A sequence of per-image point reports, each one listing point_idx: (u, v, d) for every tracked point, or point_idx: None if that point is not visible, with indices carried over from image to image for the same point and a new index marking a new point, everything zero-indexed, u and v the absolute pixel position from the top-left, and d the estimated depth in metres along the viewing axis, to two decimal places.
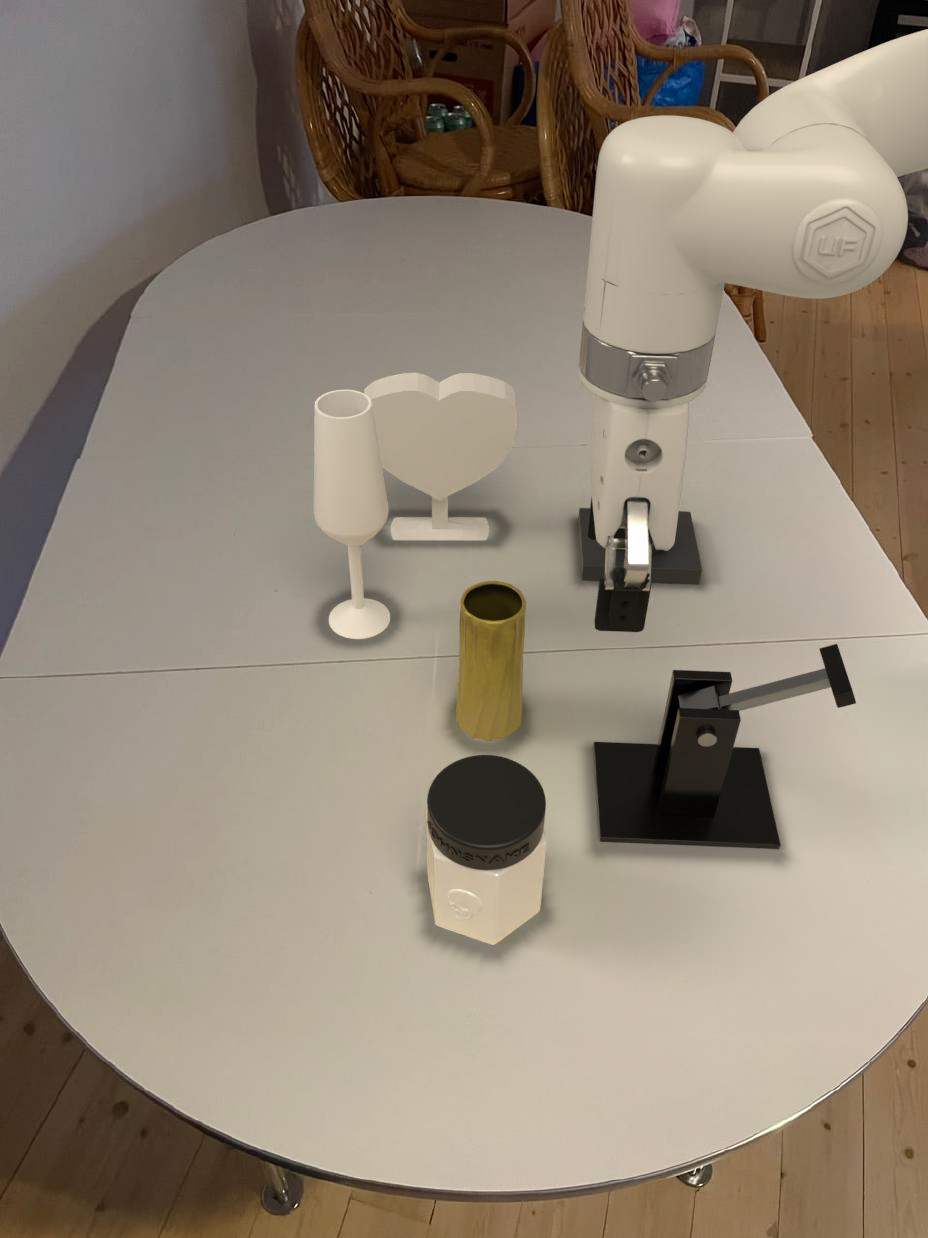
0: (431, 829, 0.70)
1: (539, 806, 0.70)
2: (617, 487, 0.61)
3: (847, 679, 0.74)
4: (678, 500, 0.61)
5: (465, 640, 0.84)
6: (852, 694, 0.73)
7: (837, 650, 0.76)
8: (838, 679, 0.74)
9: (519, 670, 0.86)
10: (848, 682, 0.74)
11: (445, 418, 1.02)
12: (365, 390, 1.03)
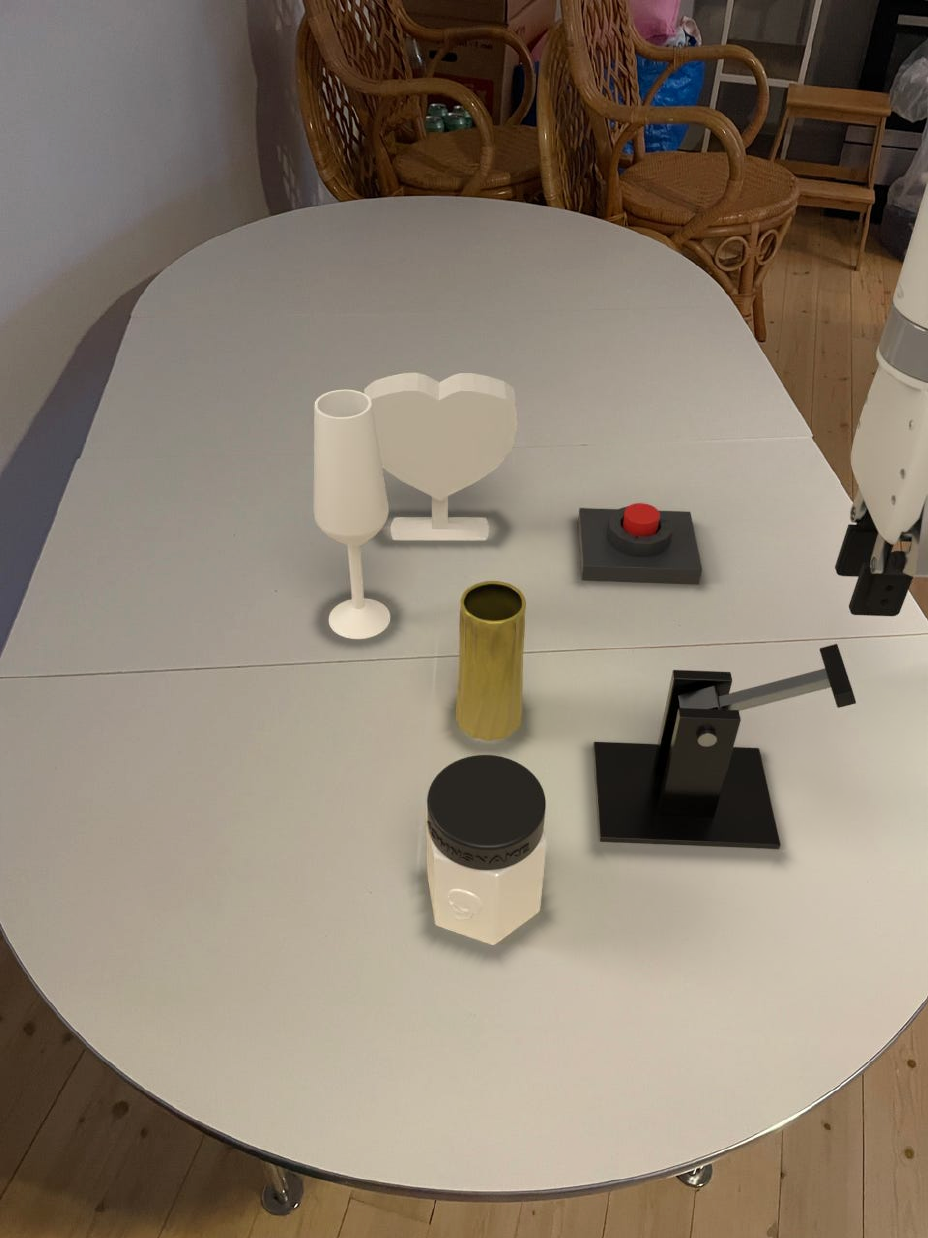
0: (431, 829, 0.70)
1: (538, 806, 0.70)
2: (921, 481, 0.58)
3: (847, 679, 0.74)
4: None
5: (465, 640, 0.84)
6: (852, 694, 0.73)
7: (837, 650, 0.76)
8: (838, 679, 0.74)
9: (519, 670, 0.86)
10: (848, 682, 0.74)
11: (445, 418, 1.02)
12: (365, 390, 1.03)
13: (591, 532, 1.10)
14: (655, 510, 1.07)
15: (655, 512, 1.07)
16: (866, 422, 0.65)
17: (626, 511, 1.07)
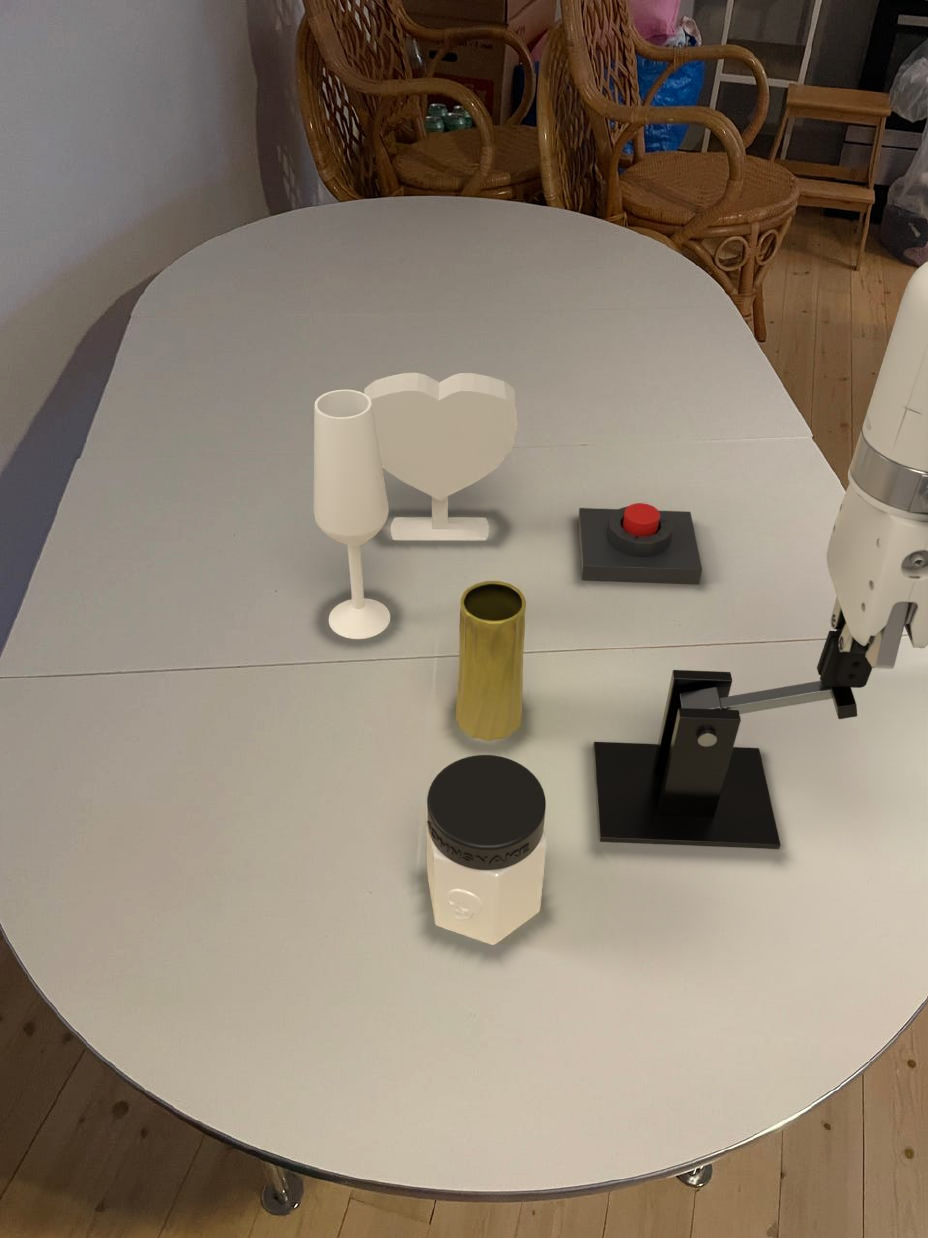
0: (431, 829, 0.70)
1: (538, 806, 0.70)
2: (888, 593, 0.64)
3: (851, 692, 0.75)
4: None
5: (465, 640, 0.84)
6: (855, 707, 0.74)
7: None
8: (842, 691, 0.75)
9: (519, 670, 0.86)
10: (852, 695, 0.75)
11: (445, 418, 1.02)
12: (365, 390, 1.03)
13: (591, 532, 1.10)
14: (655, 510, 1.07)
15: (655, 512, 1.07)
16: (840, 529, 0.70)
17: (626, 511, 1.07)
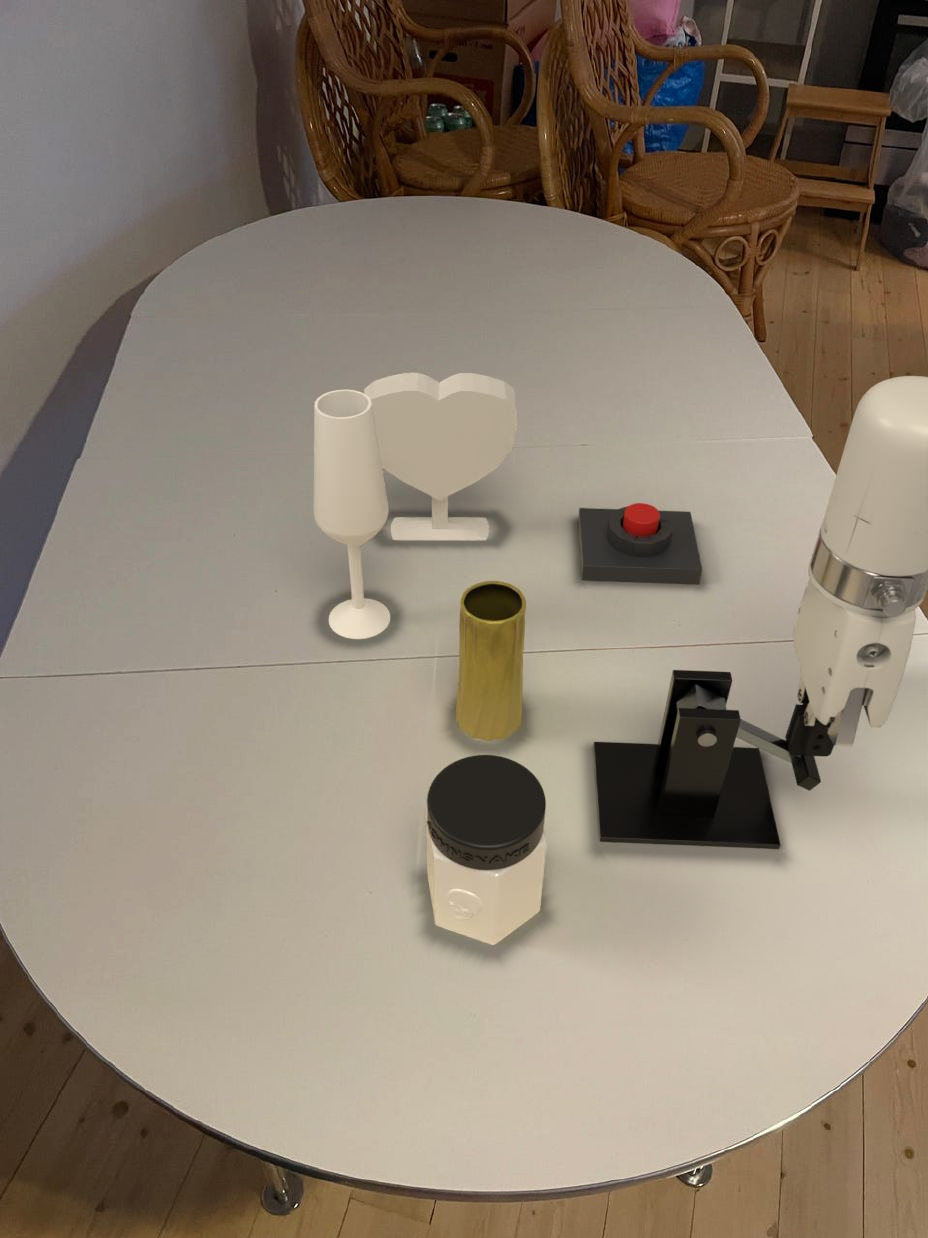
0: (431, 829, 0.70)
1: (538, 806, 0.70)
2: (845, 680, 0.69)
3: (817, 769, 0.81)
4: (897, 689, 0.70)
5: (465, 640, 0.84)
6: (818, 783, 0.80)
7: None
8: (811, 764, 0.80)
9: (519, 670, 0.86)
10: (818, 772, 0.80)
11: (445, 418, 1.02)
12: (365, 390, 1.03)
13: (591, 532, 1.10)
14: (655, 510, 1.07)
15: (655, 512, 1.07)
16: (804, 613, 0.75)
17: (626, 511, 1.07)
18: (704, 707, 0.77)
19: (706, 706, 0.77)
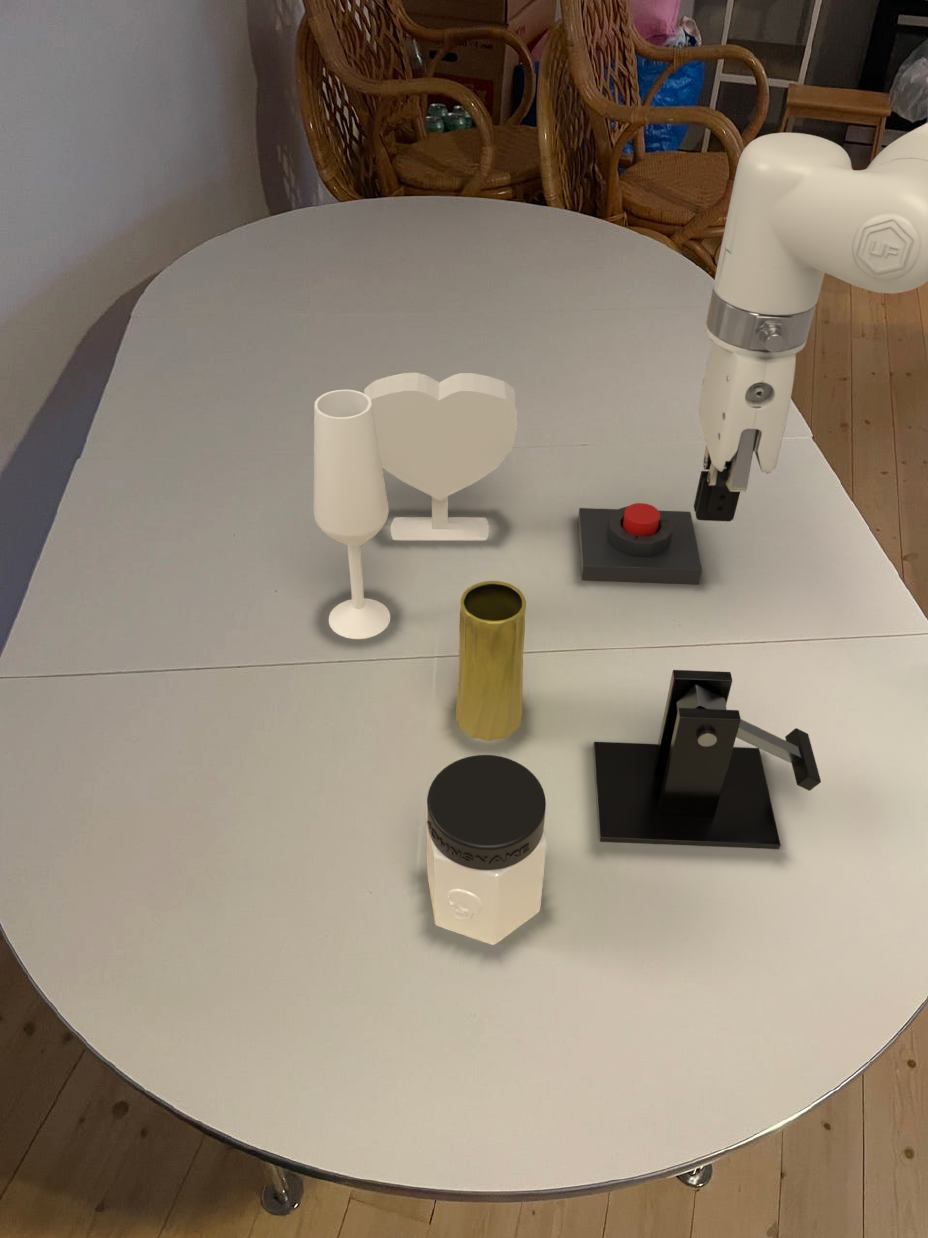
0: (431, 829, 0.70)
1: (538, 806, 0.70)
2: (736, 421, 0.78)
3: (817, 769, 0.81)
4: (783, 431, 0.79)
5: (465, 640, 0.84)
6: (818, 783, 0.80)
7: (809, 739, 0.83)
8: (811, 764, 0.80)
9: (519, 670, 0.86)
10: (817, 772, 0.80)
11: (445, 418, 1.02)
12: (365, 390, 1.03)
13: (591, 532, 1.10)
14: (655, 510, 1.07)
15: (655, 512, 1.07)
16: (705, 379, 0.84)
17: (626, 511, 1.07)
18: (704, 707, 0.77)
19: (706, 706, 0.77)
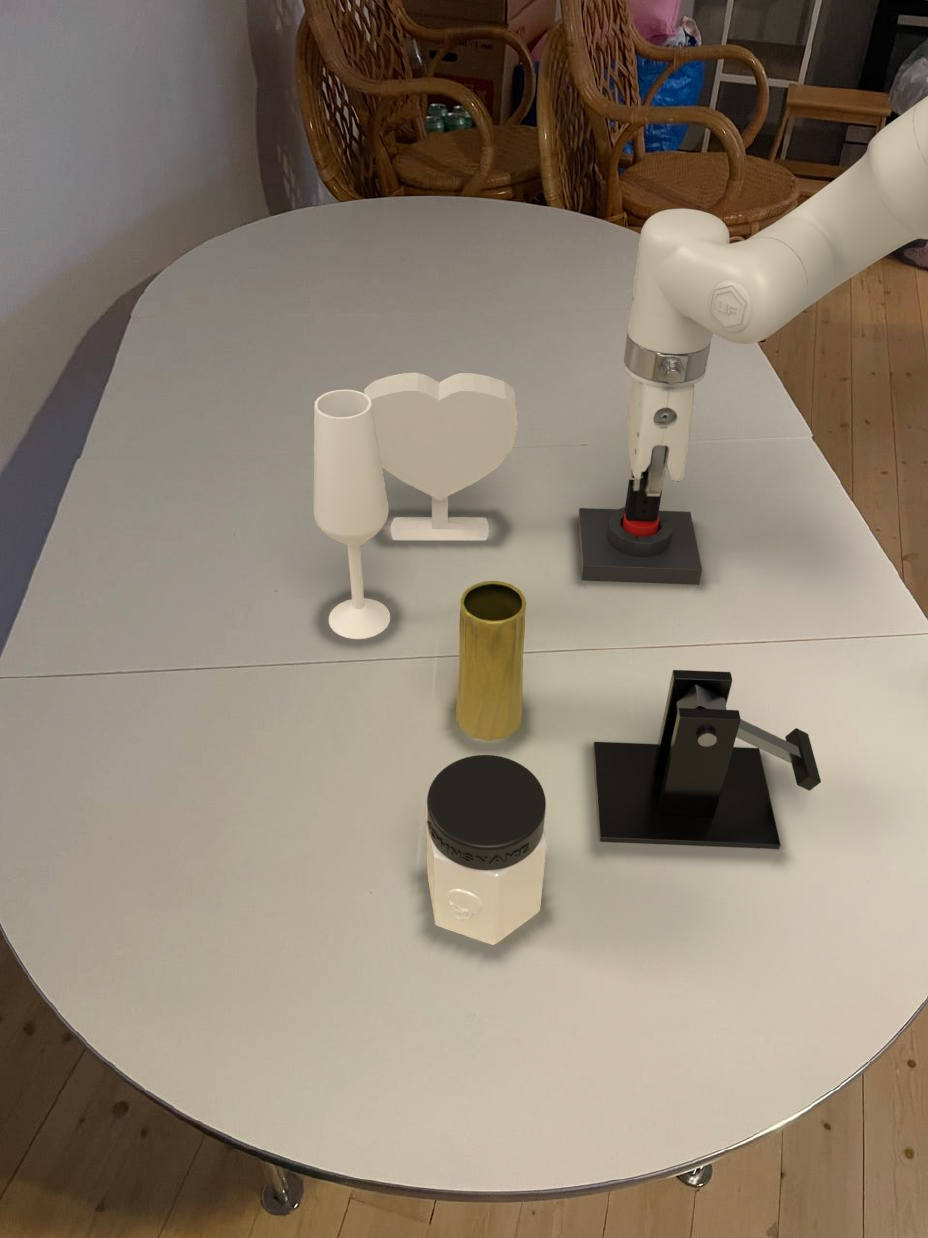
0: (431, 829, 0.70)
1: (538, 806, 0.70)
2: (648, 439, 0.96)
3: (817, 769, 0.81)
4: (687, 447, 0.96)
5: (465, 640, 0.84)
6: (818, 783, 0.80)
7: (809, 739, 0.83)
8: (811, 764, 0.80)
9: (519, 670, 0.86)
10: (817, 772, 0.80)
11: (445, 418, 1.02)
12: (365, 390, 1.03)
13: (591, 532, 1.10)
14: None
15: None
16: (629, 404, 1.02)
17: (625, 515, 1.07)
18: (704, 707, 0.77)
19: (706, 706, 0.77)
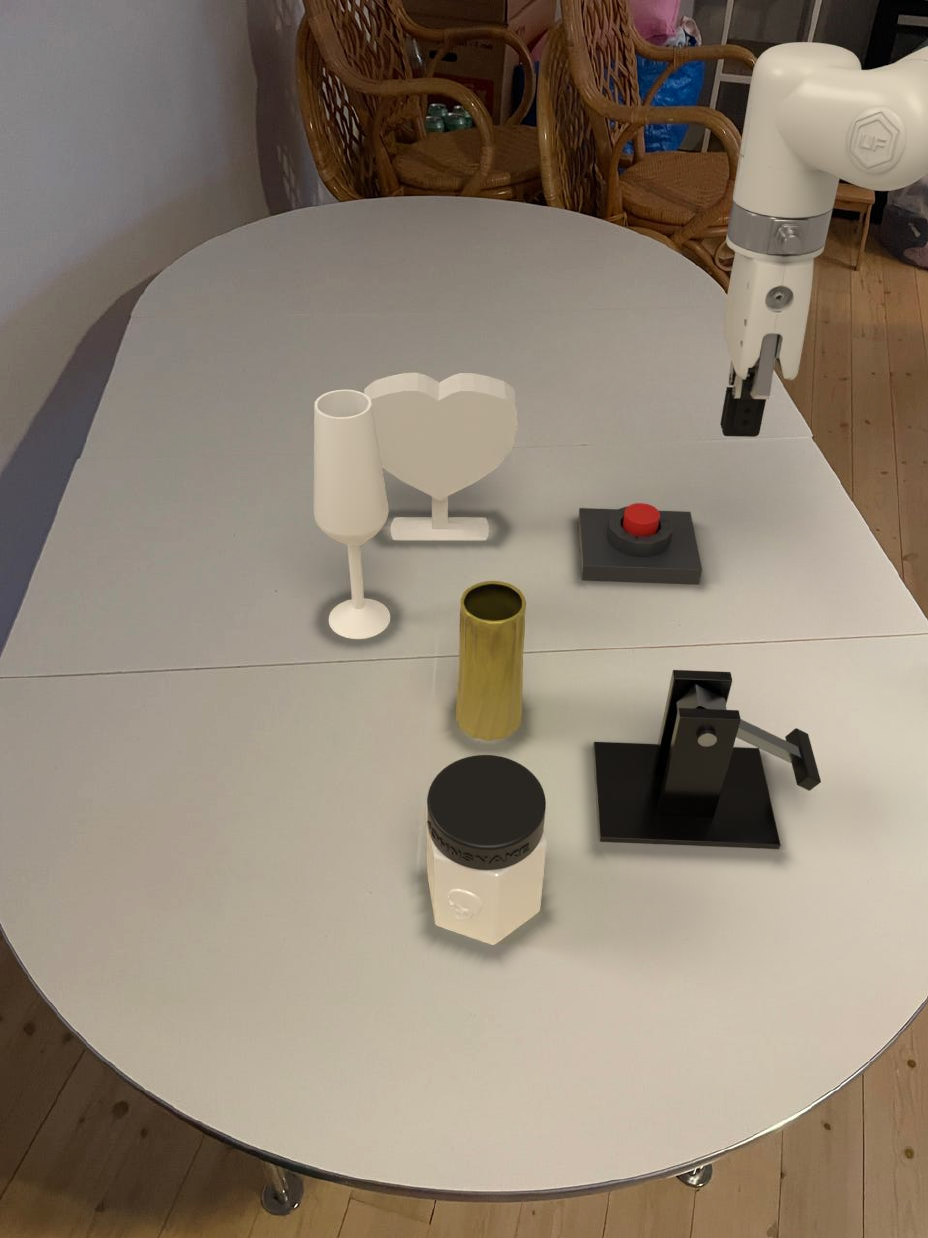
0: (431, 829, 0.70)
1: (538, 806, 0.70)
2: (758, 326, 0.81)
3: (817, 769, 0.81)
4: (803, 336, 0.82)
5: (465, 640, 0.84)
6: (818, 783, 0.80)
7: (809, 739, 0.83)
8: (811, 764, 0.80)
9: (519, 670, 0.86)
10: (817, 772, 0.80)
11: (445, 418, 1.02)
12: (365, 390, 1.03)
13: (591, 532, 1.10)
14: (655, 510, 1.07)
15: (655, 512, 1.07)
16: (728, 295, 0.87)
17: (626, 511, 1.07)
18: (704, 707, 0.77)
19: (706, 706, 0.77)
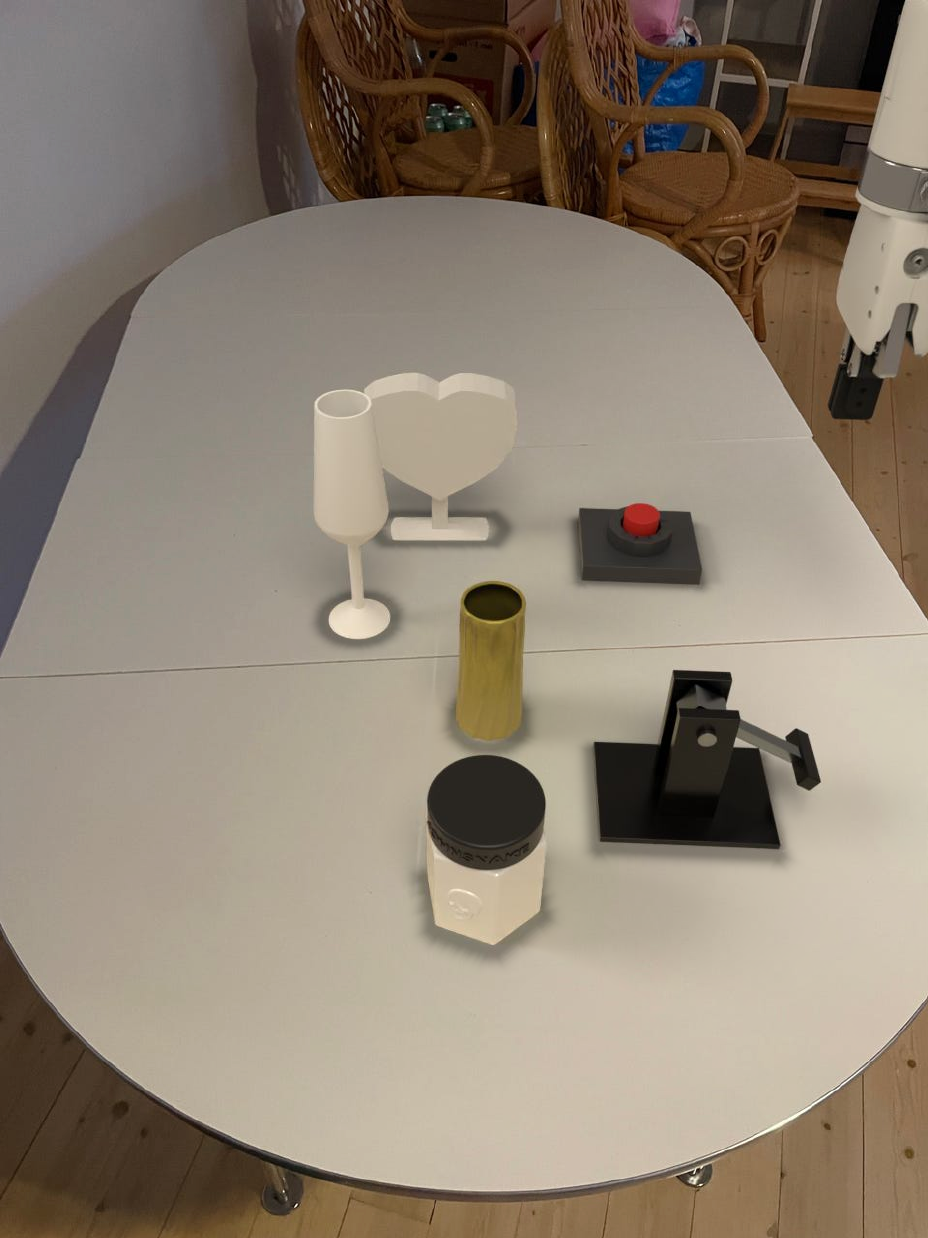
0: (431, 829, 0.70)
1: (538, 806, 0.70)
2: (892, 294, 0.72)
3: (817, 769, 0.81)
4: None
5: (465, 640, 0.84)
6: (818, 783, 0.80)
7: (809, 739, 0.83)
8: (811, 764, 0.80)
9: (519, 670, 0.86)
10: (817, 772, 0.80)
11: (445, 418, 1.02)
12: (365, 390, 1.03)
13: (591, 532, 1.10)
14: (655, 510, 1.07)
15: (655, 512, 1.07)
16: (848, 260, 0.78)
17: (626, 511, 1.07)
18: (704, 707, 0.77)
19: (706, 706, 0.77)
